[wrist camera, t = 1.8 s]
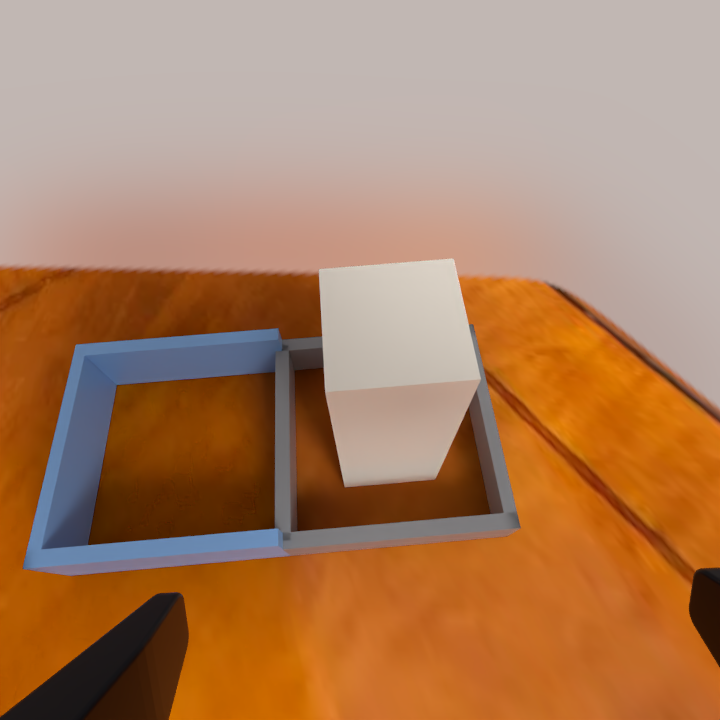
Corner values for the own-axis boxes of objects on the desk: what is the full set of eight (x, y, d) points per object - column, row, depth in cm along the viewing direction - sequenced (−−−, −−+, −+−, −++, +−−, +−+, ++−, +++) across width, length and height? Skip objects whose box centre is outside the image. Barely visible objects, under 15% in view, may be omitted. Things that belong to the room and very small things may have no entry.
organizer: (465, 345, 24) (477, 312, 21) (507, 536, 20) (528, 523, 17) (108, 374, 24) (75, 344, 21) (70, 575, 19) (22, 569, 17)
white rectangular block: (435, 479, 21) (481, 379, 12) (344, 487, 21) (325, 392, 12) (422, 396, 23) (453, 258, 14) (339, 404, 23) (318, 269, 14)
